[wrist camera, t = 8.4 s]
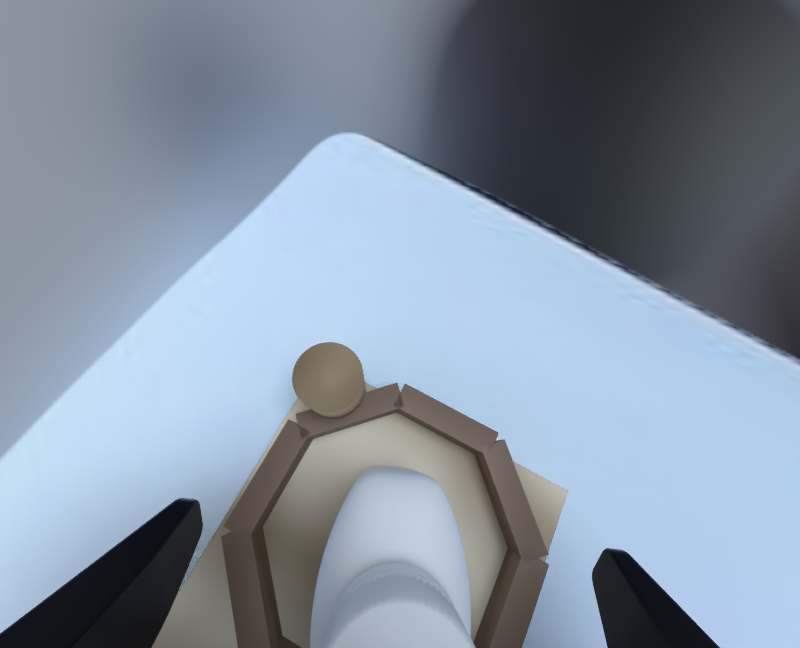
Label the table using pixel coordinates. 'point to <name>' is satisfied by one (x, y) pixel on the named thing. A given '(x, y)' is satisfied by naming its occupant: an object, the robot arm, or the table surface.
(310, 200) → the table surface
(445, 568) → the eye dropper bottle
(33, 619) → the robot arm
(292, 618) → the board
